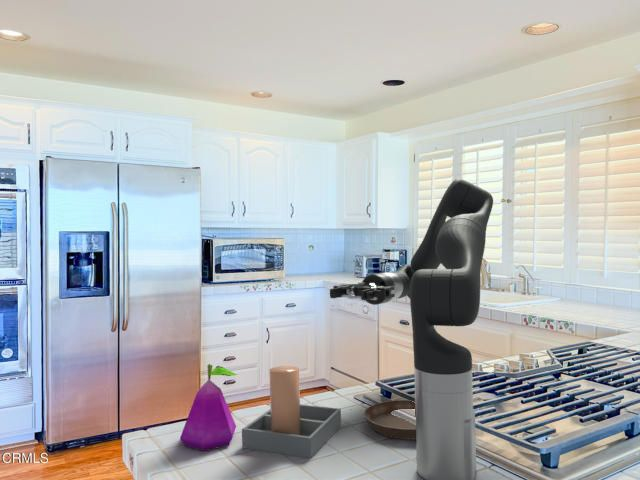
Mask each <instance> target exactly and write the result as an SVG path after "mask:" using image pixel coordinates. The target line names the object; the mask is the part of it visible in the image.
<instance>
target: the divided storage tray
mask: <svg viewBox="0 0 640 480" xmlns="http://www.w3.org/2000/svg"><path fill="white" fill-rule="evenodd" d="M300 426H301V435H293V434H286V433H278V432H271V408H270V409H268V410H267V411H265V412H264V413H263V414H261V415H259V416H258V417H257V418H255V419H254V420H253V421H251V422H250V423H248V424H247V425H245V426H244V427H243V428H241V442H242V446H241V447H242V448H243V449H250V450H255V451H262V452H267V453H268V452H269V453H276V454H282V455H289V456H296V457H304V458H309V459H312V458H314V456H315V455H316V453H318V452H319V450H321V448H322V447H323V446H324V445H325V444H326V443H327V442H328V441H329V439H331V438H332V437H333V436H334V434H335V433H336V432H337V431H338V430H339V429H340V428H341V427H342V408H337V407H328V406H327V407H326V406H318V405H308V404H301V403H300Z"/></svg>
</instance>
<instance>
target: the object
mask: <svg viewBox="0 0 640 480" xmlns="http://www.w3.org/2000/svg"><path fill="white" fill-rule="evenodd" d="M398 409H415V403H414V402H412V401H410V399H400V400H399V399H398V400H397V399H396V400H387V401H382V402H377V403H375V404H373V405H370V406H369V407H367V408H366V409H365V410H364V412H363V416H364V418H365V420H366V421H367V423H368V424H369V425H370V426H371V427H372V428H373V429H374V430H375V431H376V432H377V433H379V434H381V435H383V436H386V437H389V438H394V439H400V440H416V425H414V424H412V423H410V422H409V421H406V420H405V419H402V418H399V417H397V416H394V415H392V414H391V412H392V411H394V410H398Z"/></svg>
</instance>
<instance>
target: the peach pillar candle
mask: <svg viewBox="0 0 640 480" xmlns="http://www.w3.org/2000/svg"><path fill="white" fill-rule="evenodd" d="M300 392H301V391H300V368H299V367H297V366H293V365H280V366H275V367H272V368H270V369H269V395H270V396H269V399H270V400H269V401H270V406H269V407H270V409H271V432H278V433H286V434H293V435H301V426H300V404H301V400H300V399H301V396H300V394H301V393H300Z"/></svg>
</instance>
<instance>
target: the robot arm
mask: <svg viewBox="0 0 640 480" xmlns="http://www.w3.org/2000/svg"><path fill="white" fill-rule="evenodd" d="M493 206H494V197H493V196H492V194H491V193H490V192H489V191H488V190H485V189H483V188H481V187H479V186H478V185H475V184H473V183H471V182H470V181H468V180H466V179H463V178H455V179H454V180H452V182H451V183H450V184H449V186H448V187H447V188H446V190H445V192H444V194H443V196H442V197H441V200H440V201H439V204H438V206H437V207H436V209H435V211H434V214H433V215H432V219H431V221H430V223H429V225H428V227H427V230H426V233H425V235H424V237H423V239H422V241H421V243H420V244H419V246H418V248H416V249H417V250H416V251H415V253H414V254H413V256H412V258H411V260H410V263H406V264H403V265H401V267H399V268H398V269H397V270H396V271H392V272H379V273H373V274H369V275H366V276H365V277H364V278H363V280H362V281H361V282H357V283H346V284H339V285H333V288H330V289H329V298H330V299H338V298H346V299H349V300H350V299H352V300H353V299H360V300H362V301H365V302H366V303H368V304H370V305H374V306H375V305H376V306H377V305H382V304H385V303H389V302H392V301H393V302H394V301H395V300H397V299H398V300H399V299H401V298H405V297H407V298H409V300H410V303H409V304H410V317H411V325H412V326H411V327H412V329H411V330H412V346H413V347H412V348H413V368H414V401H415V417H416V439H415V447H416V448H415V449H416V451H415V452H416V453H415V454H416V456H415V459H416V461H415V462H416V471H417V473H418V475H419V476H420V477H421V478H422V479H424V480H475V475H476V471H477V452H476V451H477V446H476V445H477V444H476V412H475V410H474V395H473V394H474V392H473V391H474V390H473V385H474V384H473V358H472V353H471V351H470V350H469V349H468V348H467V347H465V346H463V345H461V344H458V343H455V342H453V341H451V340H449V339H447V338H445V337H443V336H442V335H441V333H439V332H438V331H437V330H436V328H435V326H436V327H437V326H439V327H440V326H441V327H467V326H470V325H472V324H473V323H474V322H475V321H476V319H477V318H478V316H479V315H478V314H479V311H480V306H481V271H482V270H481V269H482V263H483V259H484V254H485V249H486V248H485V246H486V237H487V236H486V235H487V228H488V222H489V219H490V216H491V214H492V213H491V212H492V210H493ZM448 217H449V218H448ZM447 218H448V219H447ZM440 266H443V267H444V268H439V267H440ZM352 293H353V295H352Z"/></svg>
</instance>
